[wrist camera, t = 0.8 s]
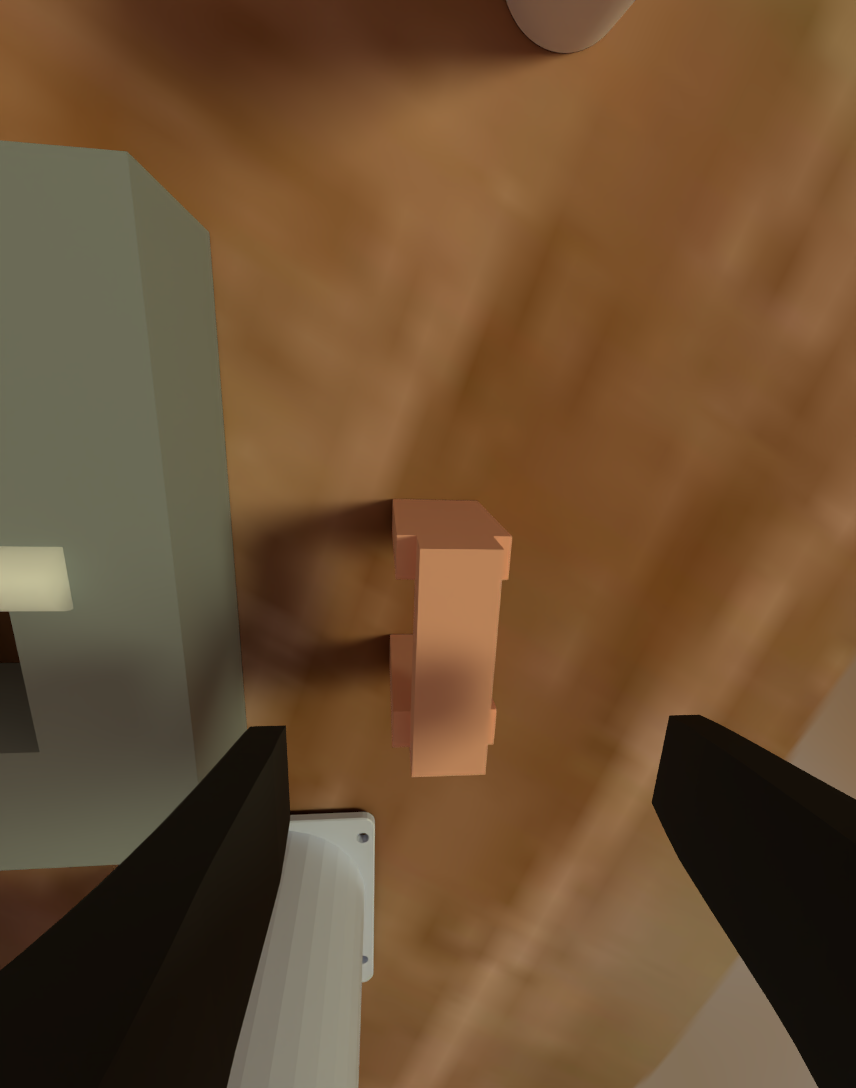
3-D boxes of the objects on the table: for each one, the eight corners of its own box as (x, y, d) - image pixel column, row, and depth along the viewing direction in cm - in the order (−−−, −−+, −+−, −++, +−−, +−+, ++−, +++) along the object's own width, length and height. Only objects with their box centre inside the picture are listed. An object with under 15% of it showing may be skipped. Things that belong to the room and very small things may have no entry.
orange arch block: (466, 661, 19) (503, 773, 13) (389, 662, 19) (393, 777, 13) (477, 500, 17) (525, 549, 12) (392, 498, 17) (398, 548, 11)
